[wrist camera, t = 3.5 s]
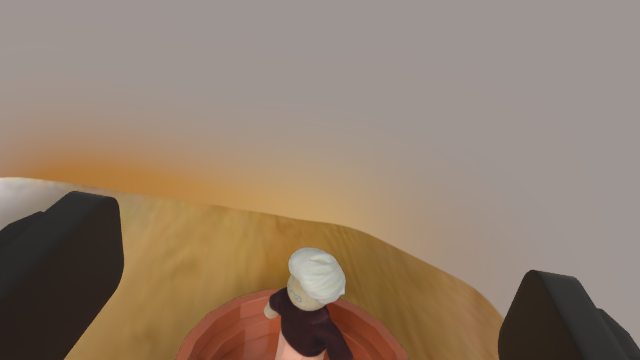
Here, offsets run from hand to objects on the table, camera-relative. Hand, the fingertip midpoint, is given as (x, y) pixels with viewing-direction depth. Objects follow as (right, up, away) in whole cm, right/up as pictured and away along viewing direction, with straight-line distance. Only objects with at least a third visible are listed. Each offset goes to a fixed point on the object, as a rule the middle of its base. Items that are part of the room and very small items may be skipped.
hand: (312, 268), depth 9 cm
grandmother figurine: (-2, -13, +21) cm, 25 cm away
